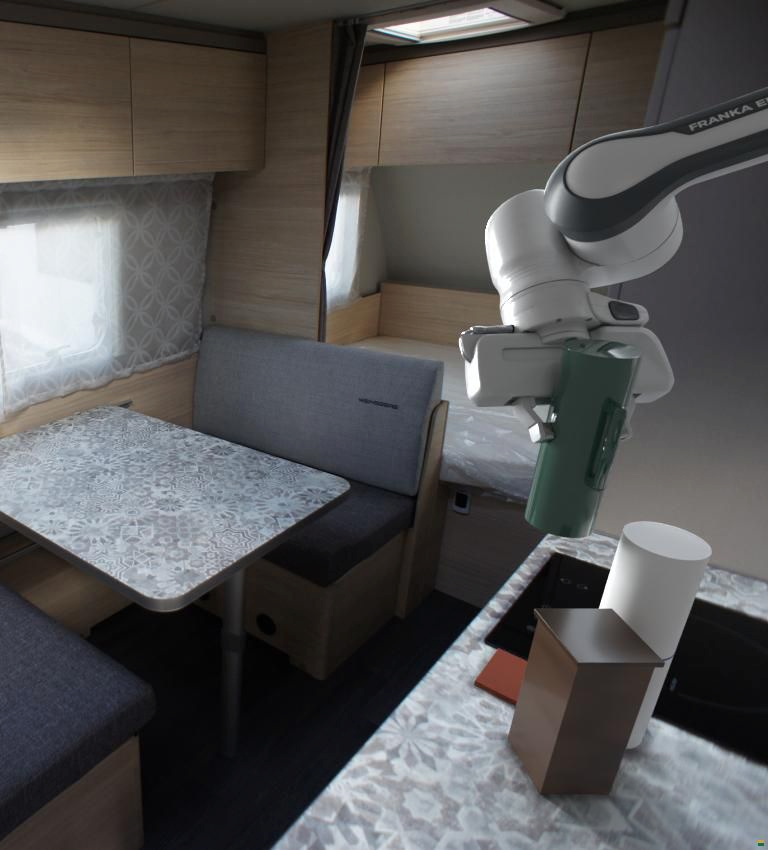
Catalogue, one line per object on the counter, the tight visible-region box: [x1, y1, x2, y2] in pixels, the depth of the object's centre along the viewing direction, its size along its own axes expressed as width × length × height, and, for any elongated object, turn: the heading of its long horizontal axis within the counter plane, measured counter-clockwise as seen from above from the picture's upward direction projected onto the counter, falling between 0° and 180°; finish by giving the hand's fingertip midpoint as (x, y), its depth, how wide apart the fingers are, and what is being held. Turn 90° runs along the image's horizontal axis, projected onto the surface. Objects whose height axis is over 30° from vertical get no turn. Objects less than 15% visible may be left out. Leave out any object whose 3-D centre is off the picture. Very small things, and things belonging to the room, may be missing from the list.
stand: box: [507, 608, 665, 796], centre depth 69 cm, size 8×8×18 cm
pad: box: [473, 647, 528, 706], centre depth 83 cm, size 8×7×1 cm
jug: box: [523, 339, 644, 539], centre depth 69 cm, size 8×7×20 cm
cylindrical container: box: [598, 520, 713, 750], centre depth 72 cm, size 7×7×25 cm
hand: (583, 440), depth 70 cm, fingers closed on jug, 6 cm apart
